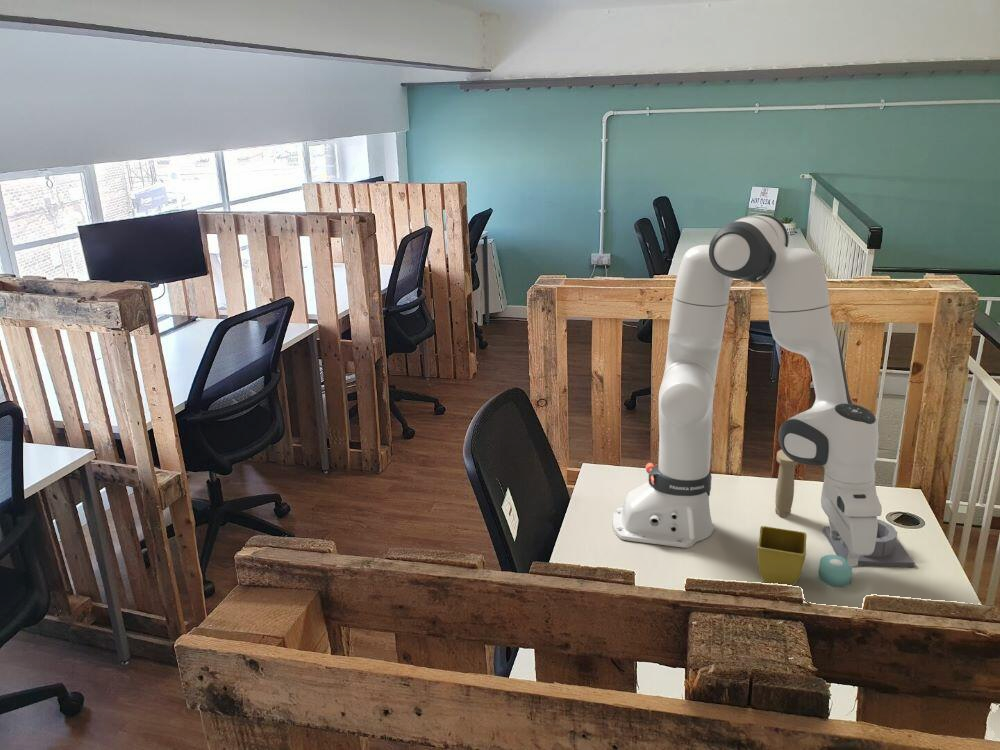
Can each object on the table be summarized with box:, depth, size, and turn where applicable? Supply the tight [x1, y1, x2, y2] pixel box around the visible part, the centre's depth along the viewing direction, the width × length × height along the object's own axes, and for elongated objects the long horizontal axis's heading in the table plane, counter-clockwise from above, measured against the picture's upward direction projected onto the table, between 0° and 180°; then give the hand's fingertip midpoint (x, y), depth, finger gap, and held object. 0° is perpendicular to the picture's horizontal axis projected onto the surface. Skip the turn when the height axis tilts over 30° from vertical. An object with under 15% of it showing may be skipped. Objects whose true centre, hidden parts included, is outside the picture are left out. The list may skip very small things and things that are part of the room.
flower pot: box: [757, 525, 807, 586], centre depth 153 cm, size 9×9×9 cm
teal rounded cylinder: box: [817, 554, 854, 588], centre depth 153 cm, size 6×6×4 cm
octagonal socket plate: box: [822, 518, 916, 568], centre depth 163 cm, size 14×14×5 cm
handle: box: [774, 449, 800, 518], centre depth 177 cm, size 5×6×15 cm
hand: (843, 551), depth 152 cm, fingers open, 8 cm apart
